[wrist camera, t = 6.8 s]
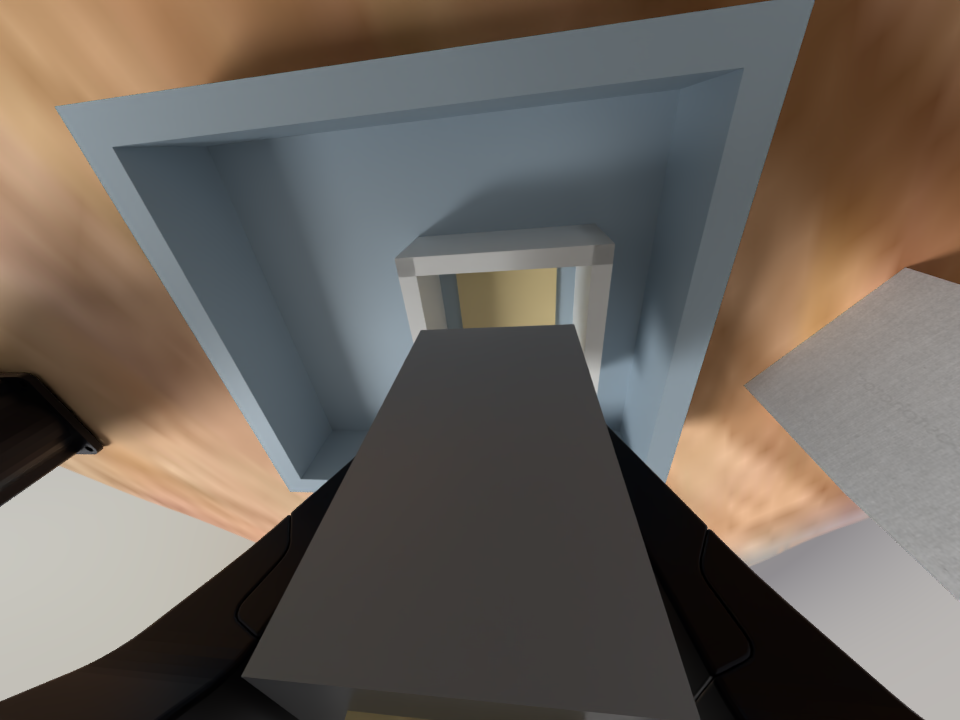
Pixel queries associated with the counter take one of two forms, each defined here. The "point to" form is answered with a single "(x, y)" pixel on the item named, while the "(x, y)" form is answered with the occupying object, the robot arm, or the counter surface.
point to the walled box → (449, 206)
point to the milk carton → (885, 412)
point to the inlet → (511, 280)
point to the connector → (479, 555)
